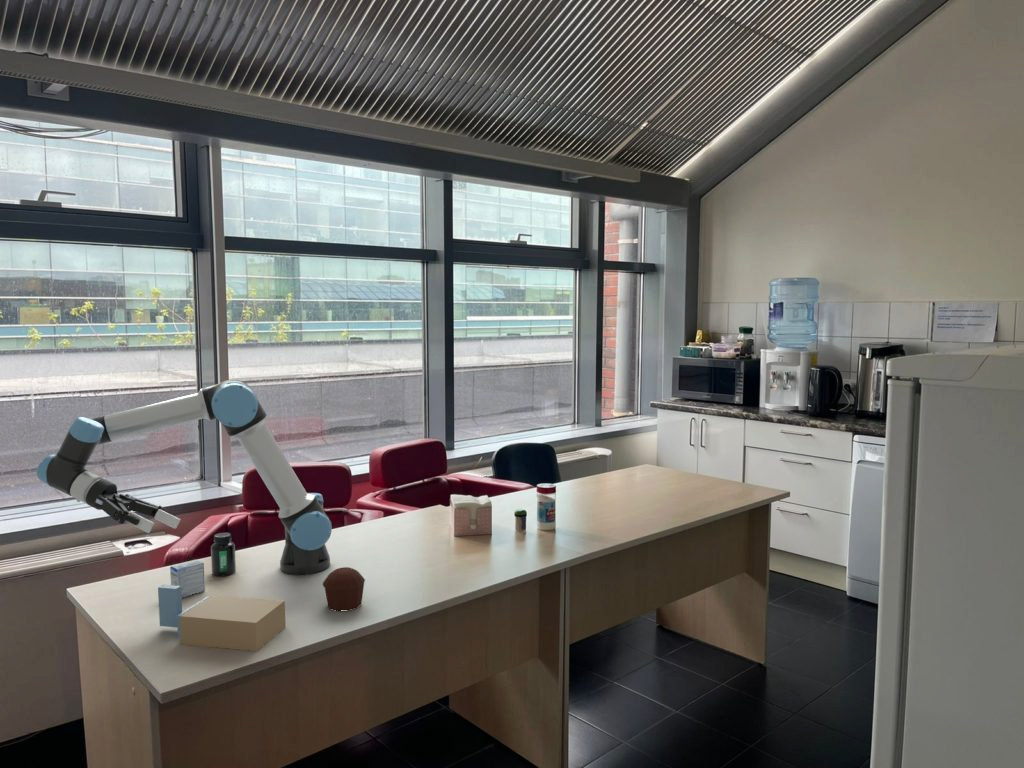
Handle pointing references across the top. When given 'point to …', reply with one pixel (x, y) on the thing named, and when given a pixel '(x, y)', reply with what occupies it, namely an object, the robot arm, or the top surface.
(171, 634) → the top surface
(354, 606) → the muffin
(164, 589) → the blue-handled drawer
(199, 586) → the medicine box
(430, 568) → the top surface
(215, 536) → the supplement bottle
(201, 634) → the drawer cabinet
